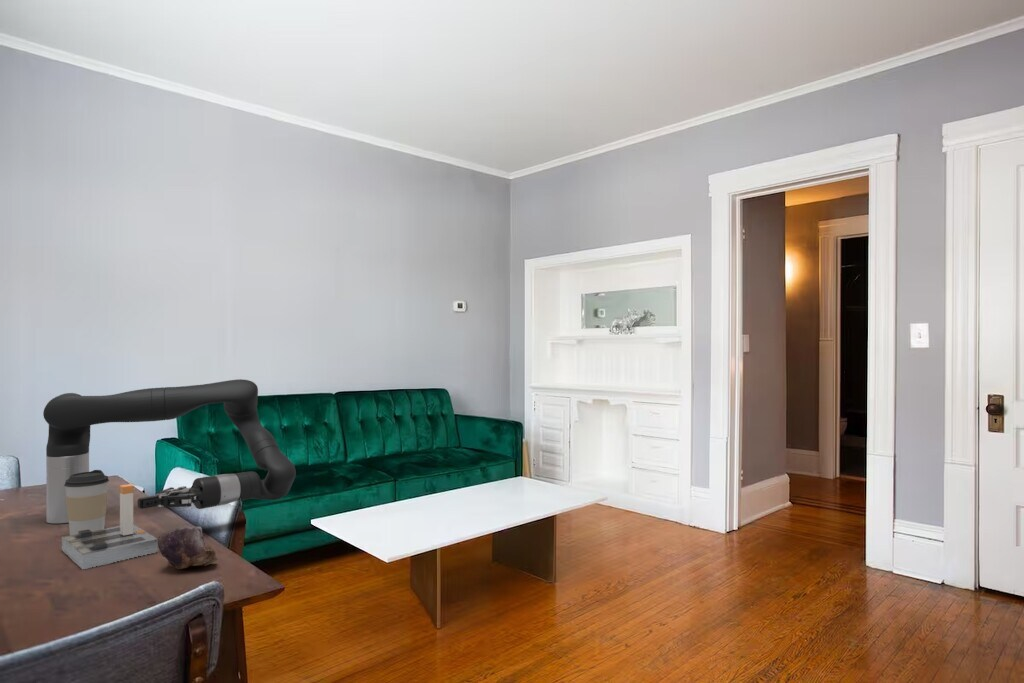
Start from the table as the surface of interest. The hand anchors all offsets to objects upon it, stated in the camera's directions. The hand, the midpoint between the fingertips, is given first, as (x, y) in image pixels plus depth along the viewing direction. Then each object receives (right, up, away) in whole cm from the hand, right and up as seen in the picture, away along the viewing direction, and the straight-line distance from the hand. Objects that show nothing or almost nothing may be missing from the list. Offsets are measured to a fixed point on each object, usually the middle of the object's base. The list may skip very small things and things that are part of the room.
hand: (138, 503), depth 141 cm
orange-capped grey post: (-2, -6, -1) cm, 7 cm away
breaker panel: (-4, -10, -4) cm, 11 cm away
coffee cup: (-18, -10, +9) cm, 23 cm away
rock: (+18, -10, -13) cm, 24 cm away
